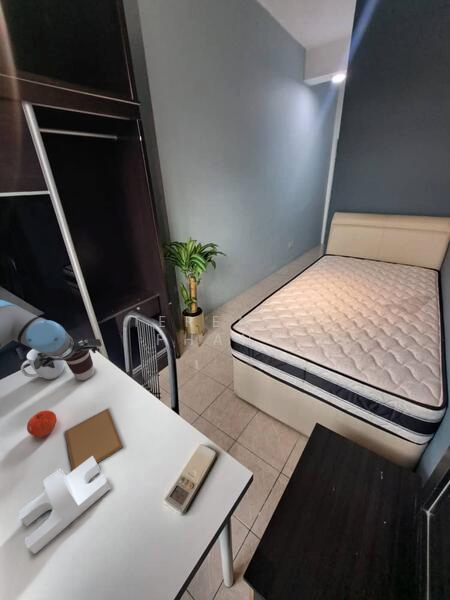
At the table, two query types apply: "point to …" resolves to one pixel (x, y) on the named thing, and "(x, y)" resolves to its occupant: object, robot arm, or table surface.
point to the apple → (42, 423)
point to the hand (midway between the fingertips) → (74, 356)
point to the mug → (42, 371)
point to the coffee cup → (81, 365)
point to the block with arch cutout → (63, 501)
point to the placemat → (93, 439)
